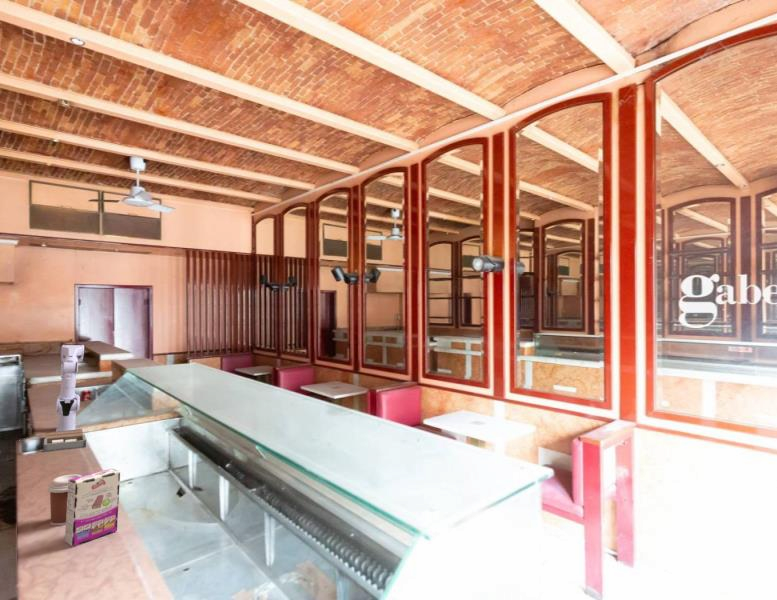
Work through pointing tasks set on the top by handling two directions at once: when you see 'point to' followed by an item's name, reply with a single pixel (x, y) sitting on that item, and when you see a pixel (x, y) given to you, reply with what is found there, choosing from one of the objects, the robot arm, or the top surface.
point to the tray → (64, 445)
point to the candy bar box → (92, 506)
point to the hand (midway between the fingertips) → (65, 415)
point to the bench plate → (64, 435)
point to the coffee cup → (59, 499)
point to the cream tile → (57, 441)
